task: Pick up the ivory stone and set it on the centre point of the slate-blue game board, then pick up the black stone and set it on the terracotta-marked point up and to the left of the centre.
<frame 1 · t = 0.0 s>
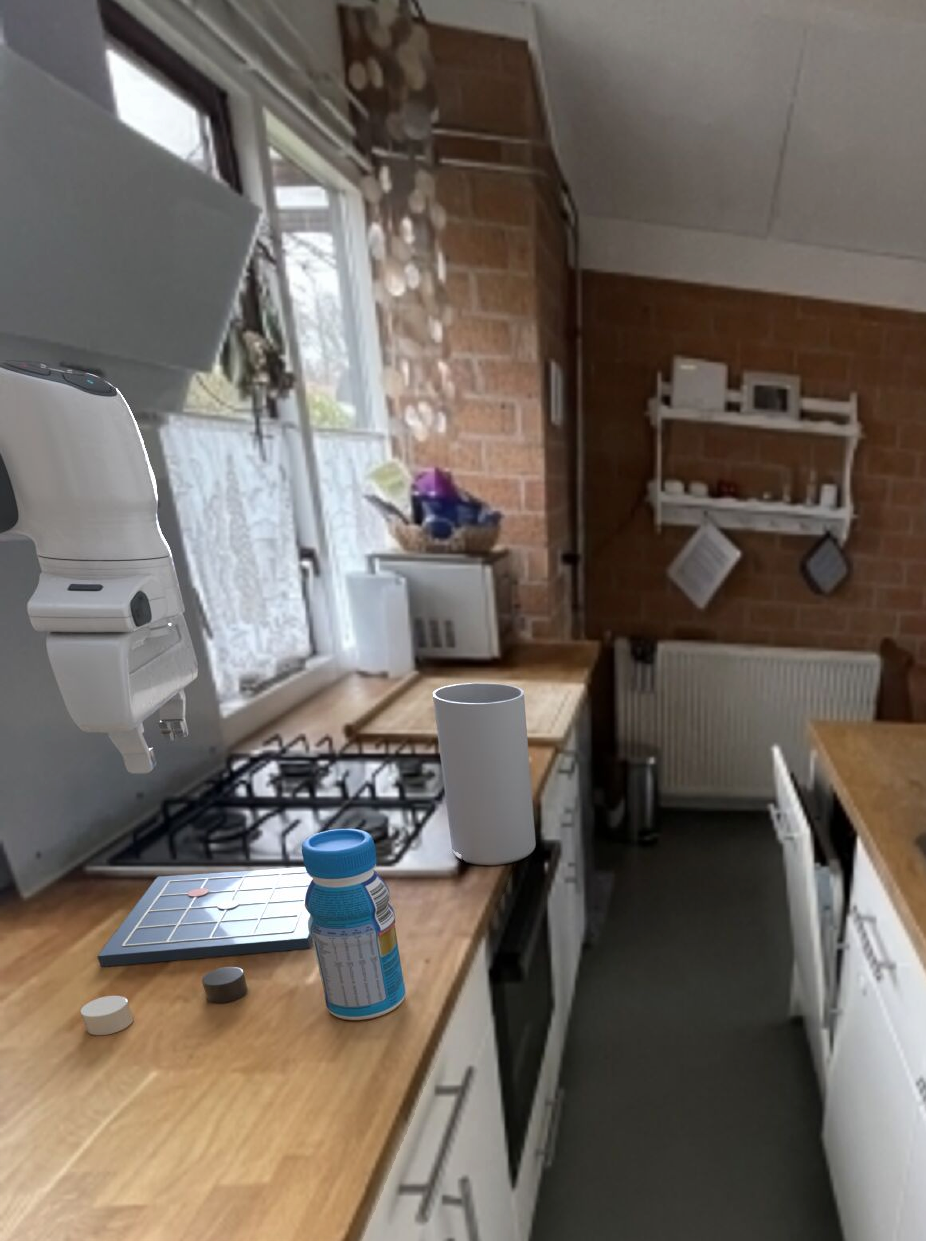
hand: (160, 754, 78), 31 cm above the countertop, tool pointing down, fingers open, 8 cm apart
cylinder vase: (494, 851, 138), on the countertop
beverage bottle: (367, 1003, 100), on the countertop
black stone: (227, 993, 99), on the countertop
ivory stone: (110, 1024, 93), on the countertop
board: (231, 915, 115), on the countertop
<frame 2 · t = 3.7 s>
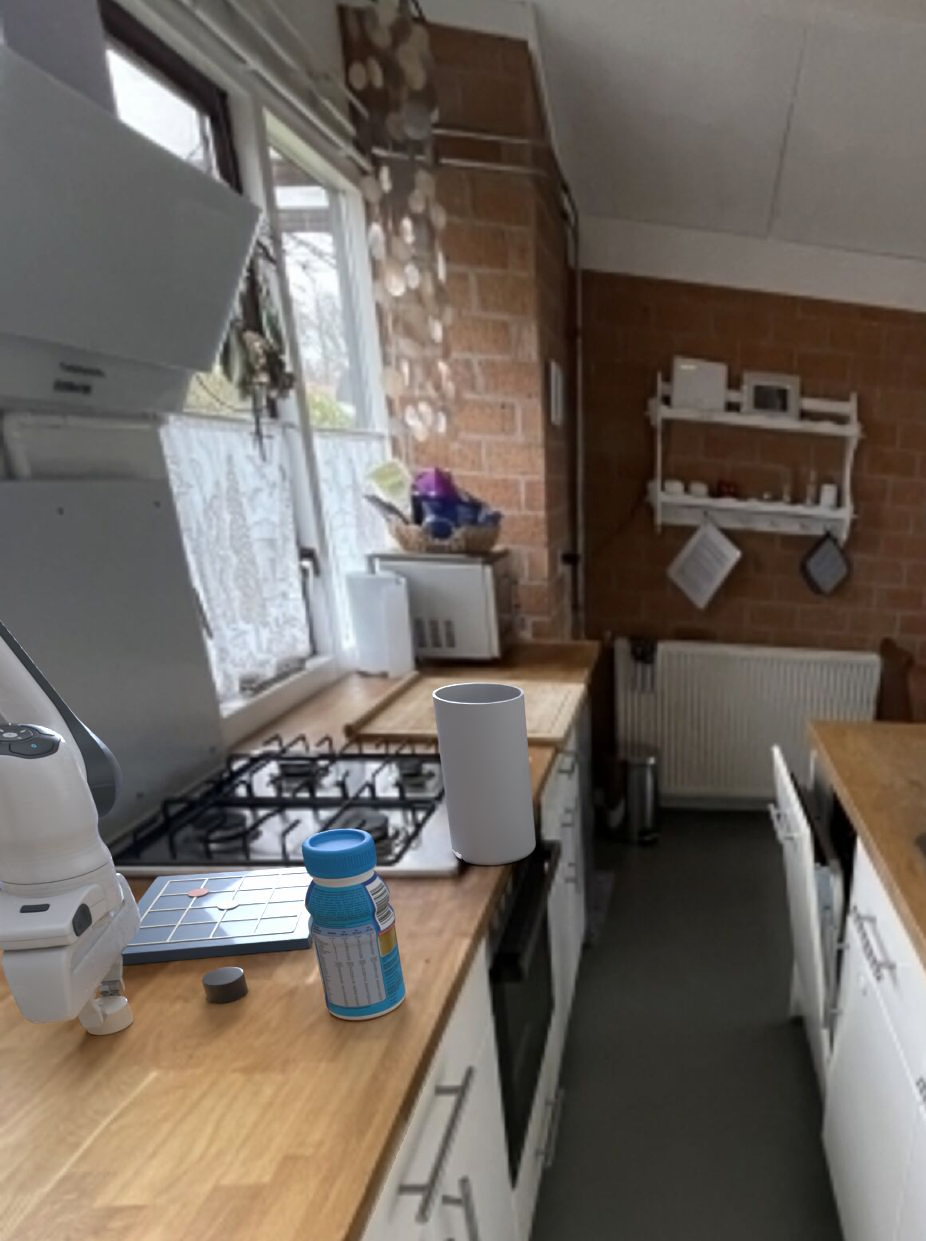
hand: (105, 1009, 92), 2 cm above the countertop, tool pointing down, fingers closed on ivory stone, 4 cm apart
ivory stone: (110, 1024, 93), on the countertop, touching gripper
everything else where it was.
when the fingers open (3 cm above the countertop, at t = 10.0 s): ivory stone stays where it is, resting on board.
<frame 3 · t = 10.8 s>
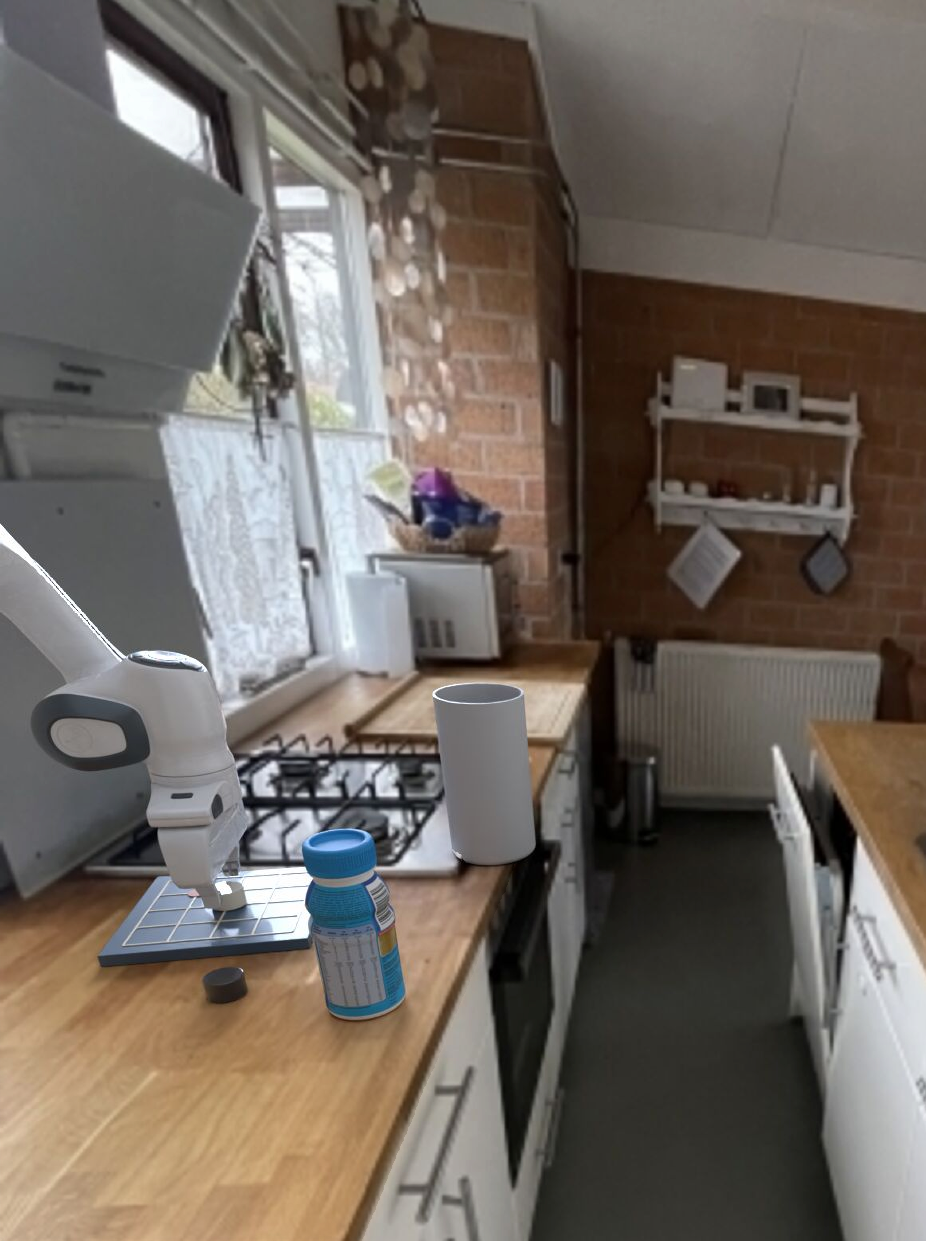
hand: (224, 889, 113), 4 cm above the countertop, tool pointing down, fingers open, 8 cm apart
ivory stone: (229, 904, 114), point 2 cm above the countertop, touching board
everything else where it was.
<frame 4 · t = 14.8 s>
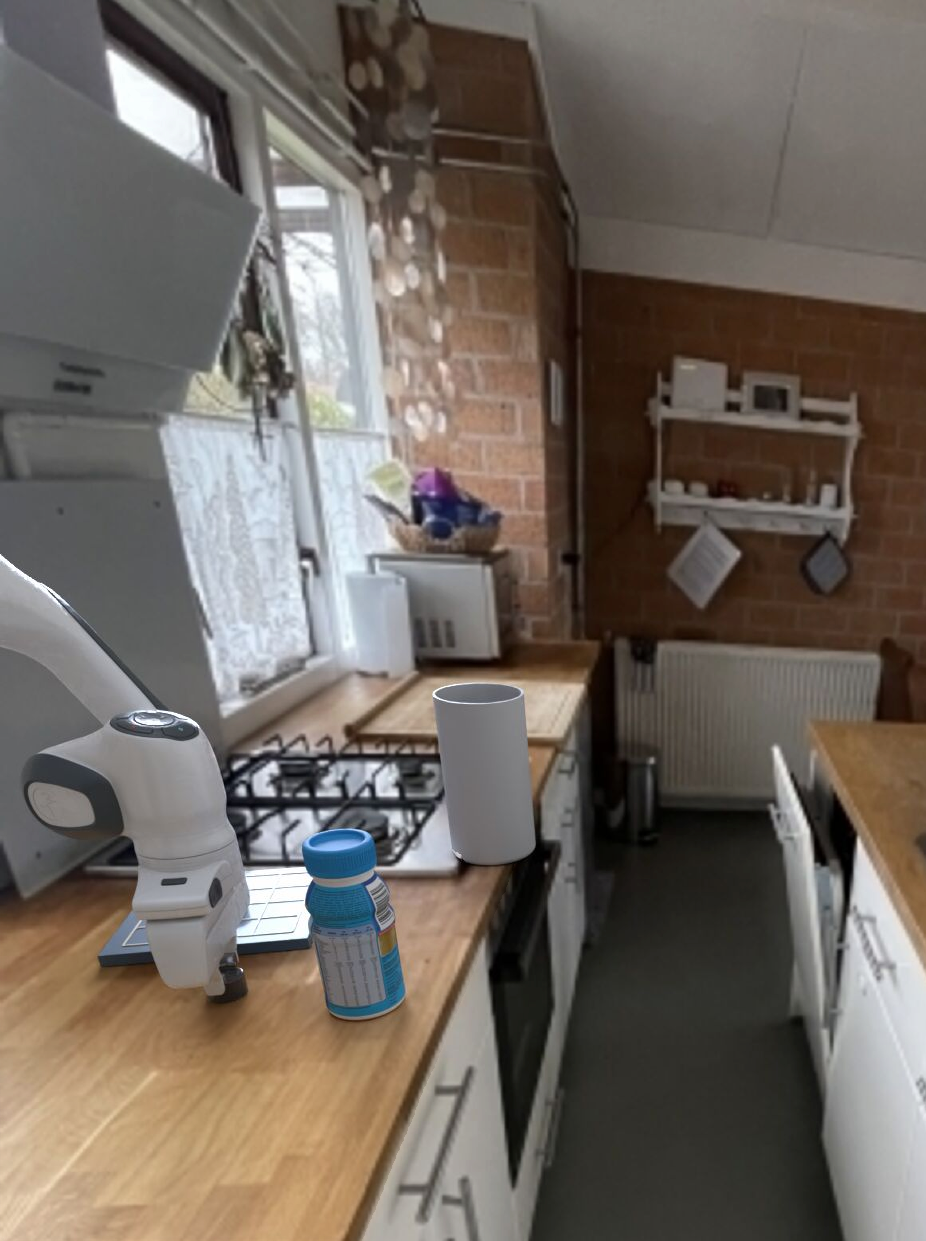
hand: (223, 979, 98), 2 cm above the countertop, tool pointing down, fingers closed on black stone, 4 cm apart
black stone: (227, 993, 99), on the countertop, touching gripper
everything else where it was.
when the fingers open (3 cm above the countertop, at t = 21.2 s): black stone stays where it is, resting on board.
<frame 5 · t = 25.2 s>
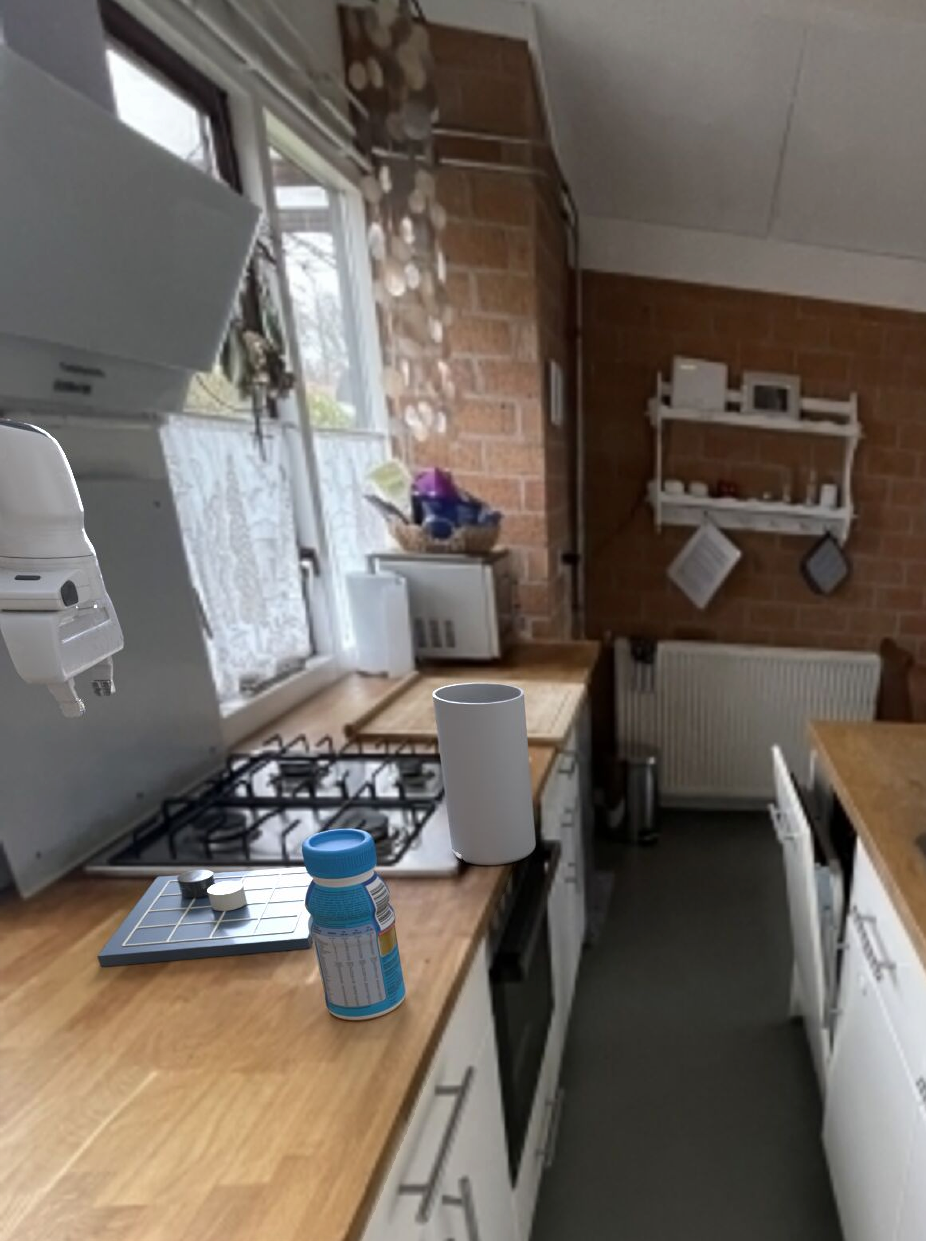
hand: (91, 704, 104), 27 cm above the countertop, tool pointing down, fingers open, 8 cm apart
black stone: (199, 891, 117), point 2 cm above the countertop, touching board
everything else where it was.
at the end: ivory stone 0.1 cm off-centre on the board, point 1.7 cm above the board's base; black stone 0.1 cm from the target spot on the board, point 1.7 cm above the board's base; black stone tilted 0° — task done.
